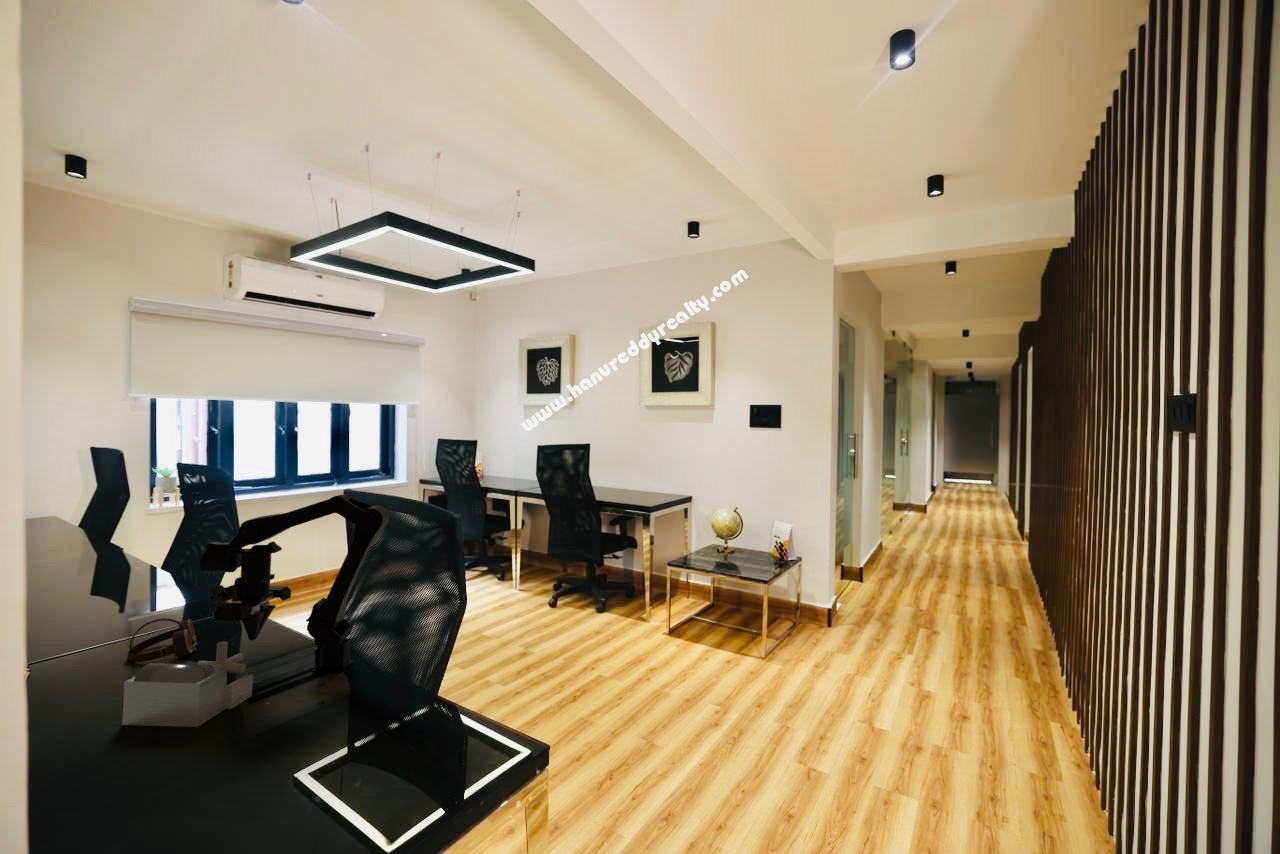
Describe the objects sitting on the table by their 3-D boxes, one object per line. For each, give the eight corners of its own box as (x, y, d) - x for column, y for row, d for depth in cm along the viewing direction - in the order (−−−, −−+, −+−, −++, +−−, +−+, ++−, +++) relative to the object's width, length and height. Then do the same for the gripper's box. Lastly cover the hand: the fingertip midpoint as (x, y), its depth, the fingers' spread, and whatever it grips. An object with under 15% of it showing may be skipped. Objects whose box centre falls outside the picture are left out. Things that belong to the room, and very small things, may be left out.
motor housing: (252, 695, 118) (254, 647, 118) (204, 726, 105) (206, 672, 105) (172, 693, 118) (174, 645, 118) (114, 724, 105) (117, 670, 105)
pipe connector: (259, 682, 124) (261, 636, 124) (222, 702, 114) (224, 652, 114) (217, 679, 125) (220, 633, 125) (176, 699, 115) (179, 649, 115)
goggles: (196, 657, 136) (185, 618, 135) (125, 681, 129) (114, 640, 128) (201, 638, 149) (191, 602, 148) (136, 658, 142) (126, 621, 141)
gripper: (248, 562, 139) (245, 625, 139) (188, 581, 121) (185, 654, 120) (293, 563, 140) (290, 626, 139) (241, 582, 121) (237, 655, 120)
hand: (252, 639), depth 130 cm, fingers closed
